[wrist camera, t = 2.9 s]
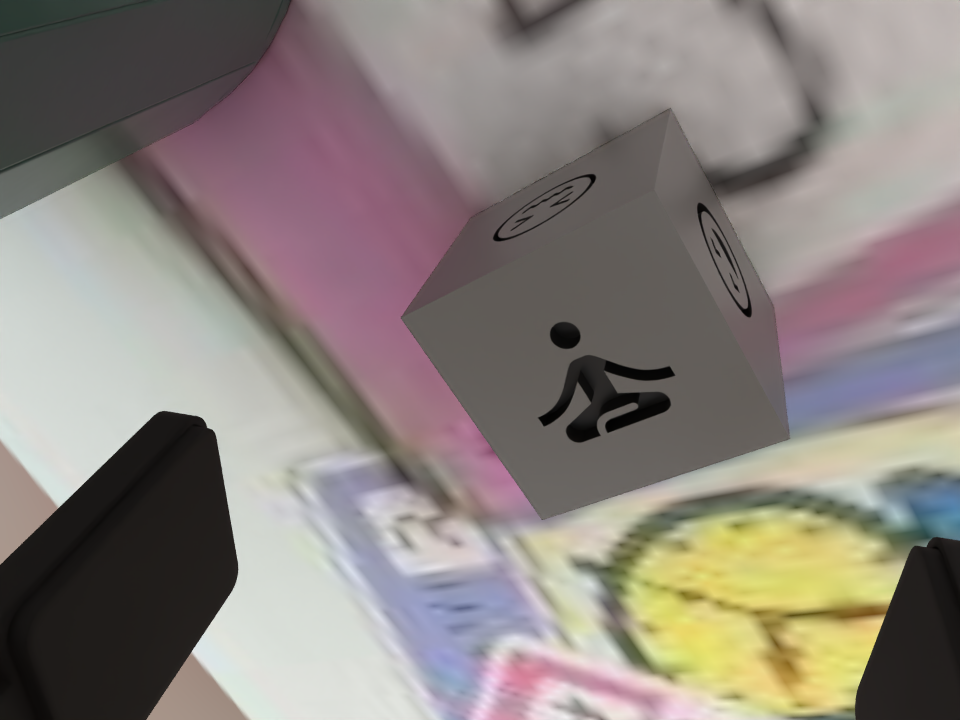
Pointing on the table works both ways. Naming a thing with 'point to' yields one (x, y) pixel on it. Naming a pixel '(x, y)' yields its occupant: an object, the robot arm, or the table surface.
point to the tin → (113, 80)
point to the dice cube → (607, 326)
